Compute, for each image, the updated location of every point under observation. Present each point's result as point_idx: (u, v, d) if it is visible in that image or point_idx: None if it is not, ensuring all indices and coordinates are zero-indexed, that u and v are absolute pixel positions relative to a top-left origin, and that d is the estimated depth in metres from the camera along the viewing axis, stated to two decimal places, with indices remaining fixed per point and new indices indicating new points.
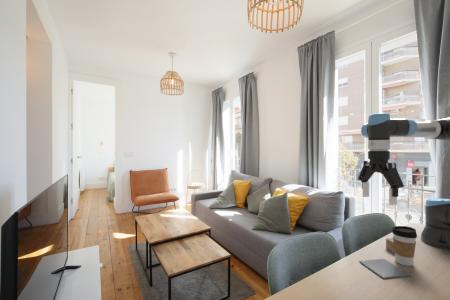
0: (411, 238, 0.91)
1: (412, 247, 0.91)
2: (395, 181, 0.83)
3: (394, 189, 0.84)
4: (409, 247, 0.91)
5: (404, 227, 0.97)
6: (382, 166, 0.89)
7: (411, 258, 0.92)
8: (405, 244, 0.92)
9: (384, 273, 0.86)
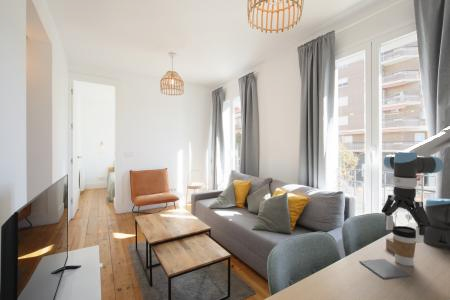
0: (411, 238, 0.91)
1: (412, 247, 0.91)
2: (423, 221, 0.85)
3: (421, 228, 0.86)
4: (409, 247, 0.91)
5: (404, 227, 0.97)
6: (408, 203, 0.91)
7: (411, 258, 0.92)
8: (405, 244, 0.92)
9: (384, 273, 0.86)
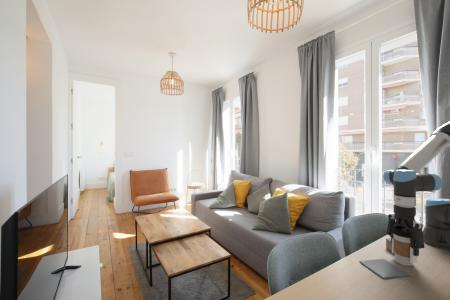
0: None
1: None
2: (418, 242, 0.88)
3: (415, 249, 0.89)
4: (409, 247, 0.91)
5: None
6: (408, 222, 0.92)
7: None
8: (405, 244, 0.92)
9: (384, 273, 0.86)
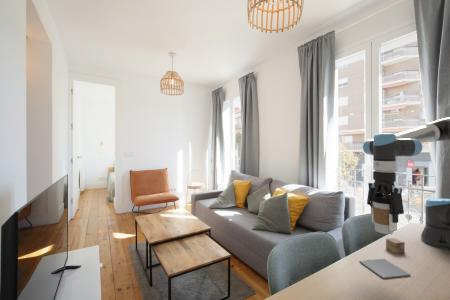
0: None
1: None
2: (396, 208, 0.83)
3: (394, 215, 0.84)
4: None
5: None
6: (387, 188, 0.87)
7: None
8: (384, 211, 0.86)
9: (384, 273, 0.86)
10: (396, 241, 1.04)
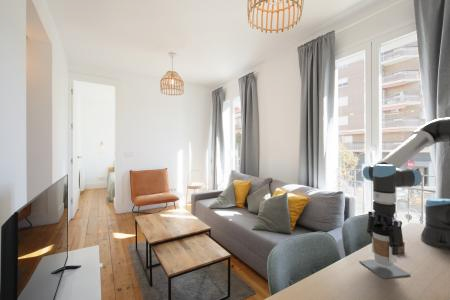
0: None
1: None
2: (396, 241, 0.83)
3: (394, 248, 0.84)
4: (388, 246, 0.86)
5: None
6: (387, 220, 0.87)
7: None
8: (384, 243, 0.87)
9: (384, 273, 0.86)
10: None
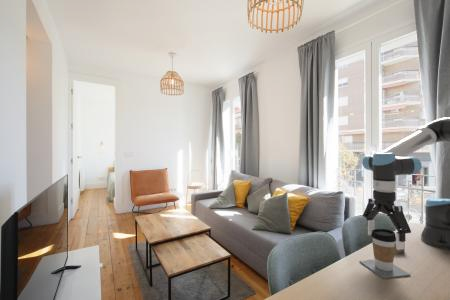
0: (390, 242, 0.86)
1: (391, 251, 0.86)
2: (402, 226, 0.81)
3: (401, 234, 0.82)
4: (388, 252, 0.86)
5: (384, 230, 0.92)
6: (388, 208, 0.86)
7: (390, 263, 0.87)
8: (384, 248, 0.87)
9: (384, 273, 0.86)
10: None
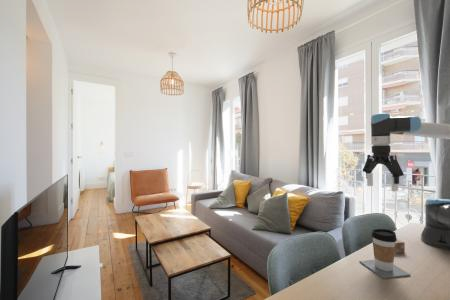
0: (390, 242, 0.86)
1: (391, 251, 0.86)
2: (396, 170, 0.98)
3: (396, 177, 0.99)
4: (389, 252, 0.86)
5: (384, 230, 0.92)
6: (384, 158, 1.04)
7: (390, 263, 0.87)
8: (384, 248, 0.87)
9: (384, 273, 0.86)
10: (396, 241, 1.04)
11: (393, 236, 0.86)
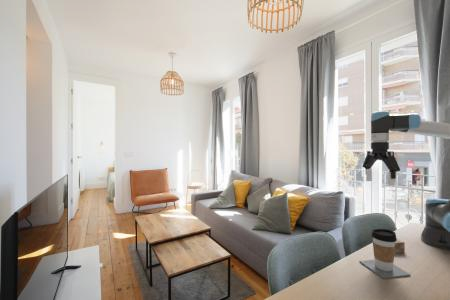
0: (390, 242, 0.86)
1: (391, 251, 0.86)
2: (393, 166, 1.03)
3: (392, 172, 1.04)
4: (389, 252, 0.86)
5: (384, 230, 0.92)
6: (382, 154, 1.08)
7: (390, 263, 0.87)
8: (384, 248, 0.87)
9: (384, 273, 0.86)
10: (396, 241, 1.04)
11: (393, 236, 0.86)
